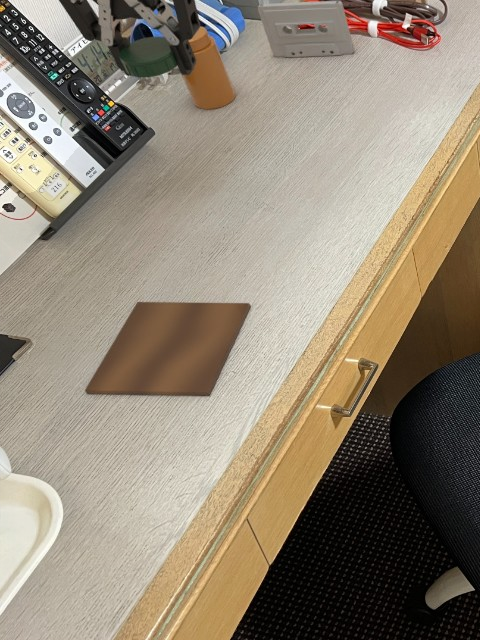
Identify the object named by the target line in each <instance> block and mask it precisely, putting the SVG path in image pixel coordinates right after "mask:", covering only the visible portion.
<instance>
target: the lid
mask: <svg viewBox="0 0 480 640" xmlns="http://www.w3.org/2000/svg"><path fill="white" fill-rule="evenodd" d="M169 45H170V43H169V42H168V41H167V40H166V39H165V38H164V37H163V36H149V37H143V38H140V39H137V40H134V41H132V42H129V44H128V45H126V46H125V47H124V48H123V49H122V50H121V51H120V53H119V57H120V59H121V63H122V65H123V67H124V69H125V71H127V73H128V74H130V75H131V76H130V77H133V78H134V77H135V78H140V79H141V78H153V77H158V76H161V75H164V74H167V73H169V72H170V71H173V70H174V69H176V67H178V66H177V62H176V60H175V58H174V56H173V53H172V51H171V50H170V47H169Z"/></svg>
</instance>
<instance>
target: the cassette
mask: <svg viewBox="0 0 480 640" xmlns="http://www.w3.org/2000/svg"><path fill="white" fill-rule="evenodd" d="M257 11H258V14H259V18H260V20H261V23H262V26H263V30H264V32H265V35H266V38H267V42H268V44H269V47H270V50H271V53H272V56H273V57H276V58H282V57H284V58H307V57H329V56H342V55H352V54H353V53H354V52H355V47H354V43H353V39H352V34H351V31H350V27H349V24H348V19H347V16H346V15H347V14H346V12H345V7H344V5H343V2H342V1H341V0H326V1H325V0H321V1H301V2H300V1H298V2H277V3H276V2H275V3H274V2H273V3H260V4H258V6H257ZM301 25H305V26H306V25H314V28H307V29H305V28H303V29H299V26H301Z"/></svg>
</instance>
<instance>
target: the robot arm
mask: <svg viewBox="0 0 480 640" xmlns="http://www.w3.org/2000/svg"><path fill="white" fill-rule="evenodd" d="M168 1H169V2H170V3H172V4H173V7H174V10H173V8H172V7H171V6H170V5H169V3H167V1H166V0H92V2H94V3H95V4H96V5H98V15H97V13H96V12H95V10H94V8H93V7H92V6H91V4H90V2H89V1H88V0H58V2H59V3H60V4H61V6H62V7H63V9H64V11H65V12H66V13H67V15H68V16H69V18H70V19H71V21H72V22H73V23H74V25H75V27H76V28H77V30H78V31H79V33H80V34H81V36H82V38H84V39H85V40H86V41H88V42H94V41H98V42H100V43H101V42H102V44H103V45H104V46H107V48H108V50H109V52H110V54H111V56H112V58H113V60H114V62H115V64H116V66H117V67H118V69H119V70H120V71H121V72H123V73H124V75H125V76H126V77H132V76H131V75H130V74H128V73H127V71H125V69H124V67H123V65H122V63H121V59H120V57H119V53H120V51H121V50H122V49H123V48H124V47H125V46H126V45H128V44H130V42H129V40H128V37H127V36H123V20H126V19H130V18H131V19H136V20H144V22H146V23H147V25H148V26H149V27H150V28H151V29H152V30H156V31H158V33H159V34H160V35H161V36H162V37H164V38H165V39H166V40H167V41H168V42H169V43H170V45H169V47H170V50H171V51H172V53H173V56H174V58H175V60H176V62H177V66H176V67H177V68H178V71H179V72H180V75H181V74H182V75H190V74H191V72H192V71H193V69H194V66H195V65H196V58H195V55H194V53H193V50H192V48H191V46H190V43H189V41H188V40H190V39H192V38H193V36H194V35H195V34H196V32H197V31H198V30H199V28H200V26H201V21H200V17H199V13H198V8H197V4H196V0H168ZM155 11H157V14H156V13H155ZM174 11H175V14H174ZM182 75H181V76H182Z"/></svg>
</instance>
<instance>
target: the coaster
mask: <svg viewBox="0 0 480 640" xmlns="http://www.w3.org/2000/svg"><path fill="white" fill-rule="evenodd" d="M250 309H251V304H250V303H249V302H177V301H176V302H175V301H173V302H172V301H171V302H170V301H169V302H168V301H161V302H160V301H137V302H136V304H135V305H134V307H133V309H132V310H131V312H130V314H129V315H128V317H127V318H126V320H125V322H124V324H123V325H122V327H121V329H120V331H119V332H118V333H117V335H116V337H115V338H114V340H113V342H112V344H111V345H110V347H109V349H108V350H107V352H106V354H105V356H104V357H103V359H102V360H101V362H100V364H99V366H98V367H97V369H96V371H95V372H94V374H93V375H92V377H91V379H90V380H89V383H88V384H87V386H86V387H85V389H84V392H85V393H86V394H89V395H91V394H92V395H98V394H99V395H143V396H144V395H150V396H152V395H153V396H207V397H208V396H211V393H212V392H213V389H214V387H215V384H216V383H217V380H218V378H219V376H220V374H221V371H222V370H223V367H224V366H225V363H226V362H227V359H228V357H229V354H230V352H231V349H233V345H234V343H235V341H236V339H237V337H238V335H239V333H240V330H241V328H242V326H243V324H244V322H245V319H246V317H247V316H248V313H249V311H250Z"/></svg>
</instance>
